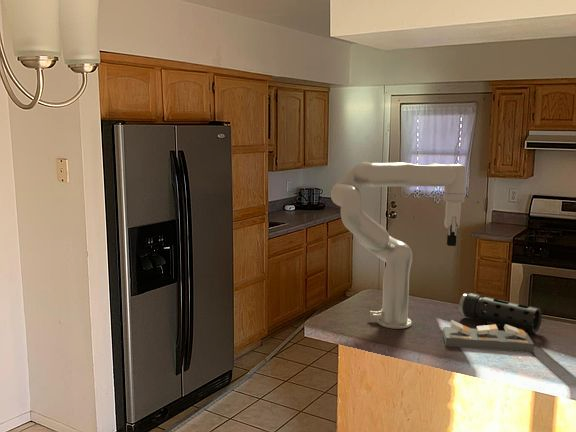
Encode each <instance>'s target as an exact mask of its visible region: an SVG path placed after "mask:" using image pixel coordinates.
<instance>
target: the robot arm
mask: <svg viewBox="0 0 576 432" xmlns="http://www.w3.org/2000/svg"><path fill="white" fill-rule="evenodd" d="M466 181H467V166H466V165H464V164H460V163H459V164H458V163H451V164H450V163H449V164H442V163H441V164H440V163H429V164H427V165H426V164H425V165H424V164H413V163H411V162H410V163H409V162H367V161H362V162H359V163H357V164H355V166H353V167H352V168H351V169H350V170H349V171H348V172H346V173H345V175H343V176H342V177H341V178H340V179H339V180H338V181H337V182H336V183H335V184H334V185H333V187H332V189H331V190H330V199H331V200H332V203H333V204H335V205H336V206H338V207H340V217H341V221H342V224H343V226H344V227H345V228H346V229H347V230H348V231H349V232H350V233H351V234H353V235H354V237H355V240H356V241H357V242H358V243H359V244H360V245H361V246H362V247H364V248H365V249H367V251H369V252H370V253H371V254H372V255H374V256H376V257H377V259H380V260H381V261H383V262H385V263H386V265H385V268H384V272H383V276H382V301H381V302H382V305H381V306H382V307H381V309H380V310H378V311H377V310H376V311H375V310H370V311H369V316H370V317H372V318H375V319H377V324H379V326H381V327H384V328H388V329H395V330H397V329H398V330H399V329H407V328H409V327H411V326H413V325H412V323H413V322H412V320H411V319H410V318H409V317H408V314H409V296H410V295H409V293H410V291H409V290H410V275H411V267H412V263H413V250H412V249H411V247H410V246H409V245H408V244H407V243H405V242H404V241H401V240H400V239H397V238H394V237H392V236H391V235H390V234H389V232H388V231H387V229H386V228H385V227H384V226H383V225H381V224H379V223H378V222H377V221H376V220H374V219H373V218H371V216H370V215H368V214H367V213H366V212H365V211H364V207H363V205H364V203H363V202H364V195H363V193H362V189H363V188H364V187H365V186H366V187H371V188H381V187H382V188H383V187H385V188H386V187H444V188H443V201H444V202H445V209H444V211H445V212H444V221H443V223H444V227H445V228H446V229H447V237H446V245H447V247H448V246H449V247H456V246H457V229H459V228H460V222H461V214H462V213H461V212H462V203H464V202H465V199H466V198H465V197H466V185H467V184H466Z"/></svg>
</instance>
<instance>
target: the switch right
mask: <svg viewBox="0 0 576 432" xmlns="http://www.w3.org/2000/svg"><path fill="white" fill-rule="evenodd" d="M503 330H504V331H506V332H507V333H510V334H513V335H516V336H519V337H521V338H524V339H525V337H526V333H525V332H524V330H521V329H518V328H515V327H512V326H509V325H506V324H505V326H504V327H503Z"/></svg>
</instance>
